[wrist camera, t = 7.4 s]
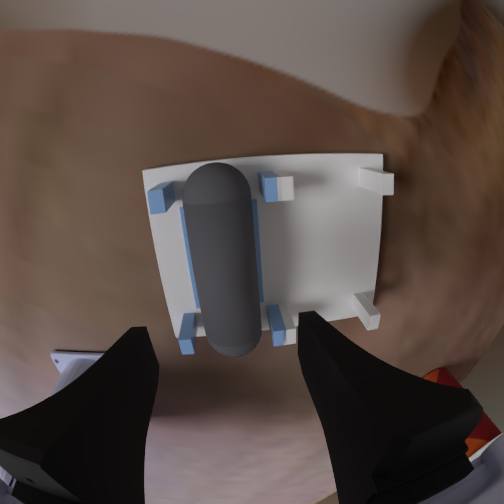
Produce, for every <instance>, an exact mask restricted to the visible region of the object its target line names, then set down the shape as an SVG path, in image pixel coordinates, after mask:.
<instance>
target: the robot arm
mask: <svg viewBox="0 0 504 504" xmlns="http://www.w3.org/2000/svg"><path fill="white" fill-rule="evenodd" d="M50 355H51V358H52V360H53V361H54V363H55V365H56V367H57V369H58V370H59V372H60V374H61V375H60V377H59V379H58V381H57V383H56V385H55V387H54V389H53V390H52V392H51V394H50V396H49V397H48V398H47V399H45V400H43V401H42V402H40V403H38V404H36V405H34V406H32V407H30V408H28V409H25V410H23V411H21V412H19V413H16V414H13V415H10V416H8V417H5V418H2V419H0V504H145V497H144V460H145V445H146V437H147V431H148V426H149V422H150V420H151V413H152V408H153V404H154V400H155V395H156V391H157V385H158V375H159V363H158V361H157V358H156V355H155V352H154V349H153V346H152V343H151V340H150V337H149V334H148V331H147V328H146V326H145V327H131V328H130V329H129V330H128V331H127V332H126V333H125V334H124V335H123V336H122V337H121V338H119V339H118V340H117V341H116V342H115V343H114V344H113V345H112V346H111V347H110V348H109V349H108V350H107V351H106V352H105V353H84V352H63V351H52V352H51V354H50ZM298 357H299V361H300V365H301V369H302V373H303V377H304V379H305V382H306V385H307V387H308V390H309V392H310V395H311V398H312V400H313V403H314V405H315V408H316V410H317V413H318V416H319V418H320V421H321V424H322V427H323V430H324V434H325V438H326V442H327V446H328V450H329V455H330V459H331V464H332V468H333V473H334V478H335V483H336V488H337V493H338V500H339V504H504V434H503V435H501V436H500V437H498V438H497V439H496V440H495V441H493V442H492V443H491V444H490V445H489V446H488V447H487V448H486V449H485V450H484V451H483V452H482V454H481V456H479V457H478V458H476V459H474V460H473V461H471V462H470V460H469V459H468V457H467V455H466V452H467V451H468V450H469V447H468V446H467V444H466V443H465V440H466V439H467V438H468V437H469V435H470V434H471V433H472V431H473V430H474V429H475V427H476V426H477V425H478V423H479V422H480V420H481V418H482V415H483V408H482V406H481V405H480V403H479V402H478V401H477V399H476V398H475V397H474V396H473V394H472V393H471V392H470V391H469V389H464V388H459V387H454V386H449V385H444V384H440V383H436V382H433V381H430V380H426V379H423V378H420V377H417V376H415V375H412V374H410V373H407V372H405V371H403V370H400V369H398V368H396V367H394V366H392V365H390V364H388V363H386V362H384V361H382V360H380V359H378V358H377V357H375V356H373V355H372V354H370V353H368V352H367V351H365V350H364V349H362V348H361V347H359V346H358V345H356V344H355V343H354V342H352V341H351V340H349V339H348V338H347V337H346V336H344V335H343V334H342V333H340V332H339V331H338V330H337V329H336V328H334V327H333V326H332V325H331V324H330V323H328V322H327V321H326V320H325V319H324V318H323V317H321V316H320V315H319V314H318V313H317V312H316V311H307V312H299V313H298Z"/></svg>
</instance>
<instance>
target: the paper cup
mask: <svg viewBox="0 0 504 504" xmlns="http://www.w3.org/2000/svg"><path fill="white" fill-rule="evenodd" d="M423 379H426V380H430V381H433V382H436V383H440V384H444V385H449V386H454V387H459V388H463V387H462V386H461V385H460V384H459V383H458V381H457V380H456V379H455V378H454V377H453V376H452V375H451V374H450V373H449V372H448V371H447V370H446V369H444V368H438V369H435V370H433V371H431V372H429V373H428V374H426V375H425V376H424V377H423ZM503 434H504V433H501V432H500V430H499V429H498V428H497V427H496V426H495V424H494V423H493V422H492V421H491V419H490V418H489V417H488V416H487V415H486V414H485V412H484V411H483V415H482V418H481V420H480V422H479V423H478V425H477V426H476V427H475V429H474V430H473V431H472V433H471V434H470V435H469V437H468V438H467V439H466V440H465V443H466V444H467V446H468V447H469V450H468V451H467V452H466V455H467V457H468V459H469V460H470V462H471V461H473V460H474V459H476V458H478V457H479V456H481V454H482V452H483V451H484V450H485V449H486V448H487V447H488V446H489V445H490V444H491V443H492V442H493V441H495V440H496V439H497V438H498V437H500V436H501V435H503Z"/></svg>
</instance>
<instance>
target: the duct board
mask: <svg viewBox="0 0 504 504" xmlns="http://www.w3.org/2000/svg"><path fill="white" fill-rule="evenodd" d="M213 162H221V163H226V164H229V165H231V166H233V167H235V168H236V169H238V170H239V171H240V172H241V173H242V174H243V175H244V176H245V178H246V179H247V181H248V183H249V186H250V191H251V200H252V212H253V224H254V236H255V249H256V261H257V273H258V286H259V298H260V311H261V324H262V330H270V332H271V336H272V341H273V345H274V346H281V345H288V344H295V343H296V327H295V326H298V313H299V312H307V311H316V312H317V313H318V314H319V315H320V316H321V317H323V318H324V319H325V320H326V321H333V320H339V319H345V318H351V317H356V316H358V317H359V319H360V320H361V322H362V323H363V325H364V326H365V327H366V329H367V330H368V331H369V330H373V329H378V326H379V320H380V315H381V314H380V313H379V311H378V310H377V309H376V308H375V306H374V305H373V300H374V292H375V285H376V277H377V268H378V258H379V247H380V235H381V220H382V197H383V195H393V194H394V174H393V173H389V172H385V171H383V154H378V153H302V154H280V155H263V156H250V157H238V158H227V159H217V160H208V161H199V162H191V163H183V164H176V165H169V166H162V167H156V168H150V169H145V170H143V171H142V172H143V180H144V187H145V194H146V200H147V206H148V213H149V219H150V224H151V230H152V235H153V241H154V246H155V251H156V256H157V261H158V266H159V270H160V275H161V280H162V284H163V288H164V293H165V297H166V301H167V305H168V309H169V313H170V317H171V321H172V325H173V329H174V332H175V336H176V338H178V341H179V345H180V349H181V352H182V355H184V354H195V345H196V337H198V336H206V333H205V329H204V324H203V319H202V314H201V309H200V304H199V299H198V294H197V288H196V283H195V277H194V272H193V266H192V260H191V254H190V248H189V242H188V236H187V229H186V223H185V216H184V209H183V202H182V193H183V188H184V185H185V182H186V180H187V179H188V177H189V176H190V175H191V173H192V172H193V171H194V170H196V169H197V168H199V167H200V166H203V165H205V164H208V163H213Z"/></svg>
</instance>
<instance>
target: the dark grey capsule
mask: <svg viewBox="0 0 504 504" xmlns="http://www.w3.org/2000/svg"><path fill="white" fill-rule="evenodd" d="M182 202H183V209H184V216H185V223H186V229H187V236H188V242H189V248H190V254H191V260H192V266H193V272H194V277H195V283H196V288H197V294H198V299H199V304H200V309H201V314H202V319H203V324H204V329H205V333H206V337H207V340H208V342H209V343H210V345H211V346H212V347H213V349H215V350H216V351H217V352H218V353H220V354H223V355H225V356H229V357H238V356H242V355H245V354H247V353H249V352H250V351H252V350H253V349H254V348H255V347H256V345H257V344H258V342H259V340H260V337H261V334H262V324H261V311H260V298H259V286H258V273H257V261H256V249H255V236H254V224H253V212H252V200H251V191H250V186H249V183H248V181H247V179H246V178H245V176H244V175H243V174H242V173H241V172H240V171H239V170H238V169H236V168H235V167H233V166H231V165H229V164H226V163H221V162H213V163H208V164H205V165H203V166H200V167H199V168H197V169H196V170H194V171H193V172H192V173H191V175H190V176H189V177H188V179H187V180H186V182H185V185H184V188H183V193H182Z"/></svg>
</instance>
